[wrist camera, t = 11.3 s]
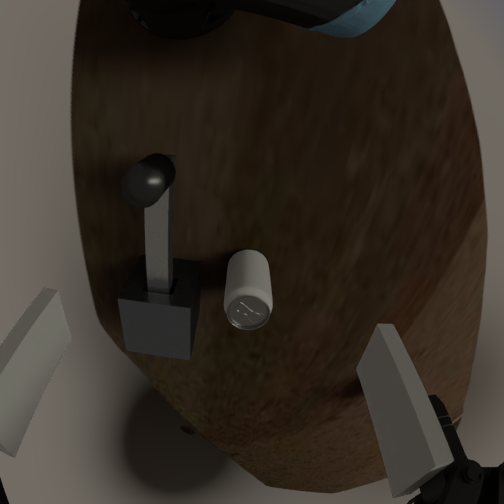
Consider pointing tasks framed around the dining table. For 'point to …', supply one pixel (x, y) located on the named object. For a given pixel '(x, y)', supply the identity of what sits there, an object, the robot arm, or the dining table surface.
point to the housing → (161, 311)
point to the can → (248, 290)
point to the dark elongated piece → (155, 214)
